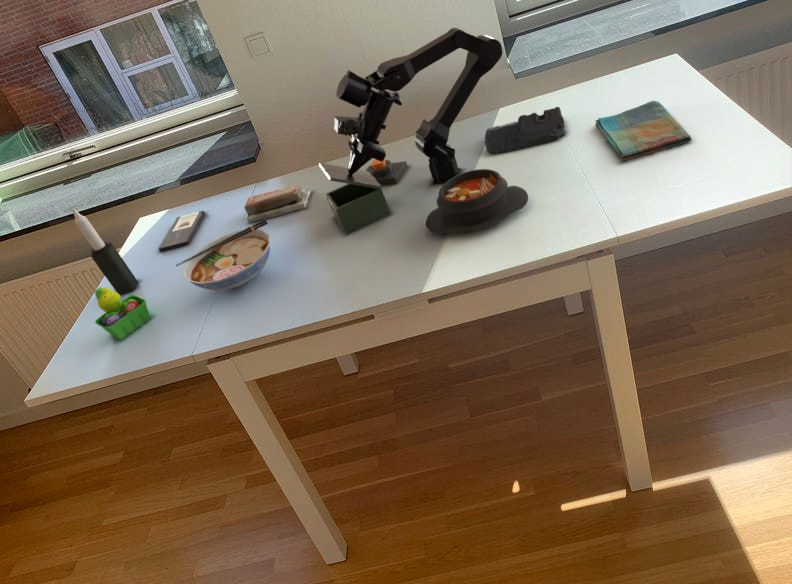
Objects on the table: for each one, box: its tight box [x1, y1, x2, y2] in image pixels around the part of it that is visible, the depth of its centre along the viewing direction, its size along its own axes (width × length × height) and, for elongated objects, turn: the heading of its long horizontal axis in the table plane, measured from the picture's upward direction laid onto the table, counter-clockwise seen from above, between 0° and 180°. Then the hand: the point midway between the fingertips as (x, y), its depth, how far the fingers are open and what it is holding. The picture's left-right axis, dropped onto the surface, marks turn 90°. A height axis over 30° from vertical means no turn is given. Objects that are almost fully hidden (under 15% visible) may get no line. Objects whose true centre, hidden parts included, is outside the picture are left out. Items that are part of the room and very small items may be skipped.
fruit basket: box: [94, 286, 152, 341], centre depth 170 cm, size 11×9×11 cm
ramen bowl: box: [176, 218, 271, 292], centre depth 174 cm, size 25×23×8 cm
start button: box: [371, 159, 386, 170], centre depth 196 cm, size 4×4×2 cm
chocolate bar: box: [158, 210, 206, 252], centre depth 208 cm, size 9×1×18 cm
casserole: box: [425, 168, 529, 235], centre depth 164 cm, size 25×19×8 cm
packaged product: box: [243, 184, 312, 223], centre depth 200 cm, size 18×5×10 cm
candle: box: [71, 207, 139, 296], centre depth 182 cm, size 5×5×25 cm
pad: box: [365, 159, 409, 186], centre depth 197 cm, size 12×9×4 cm
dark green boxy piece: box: [324, 183, 392, 235], centre depth 181 cm, size 13×12×7 cm
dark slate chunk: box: [484, 106, 566, 155], centre depth 191 cm, size 15×22×5 cm
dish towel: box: [594, 100, 692, 162], centre depth 174 cm, size 17×23×2 cm
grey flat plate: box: [318, 162, 382, 189], centre depth 177 cm, size 13×12×1 cm
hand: (350, 174), depth 176 cm, fingers closed, pressing on grey flat plate
